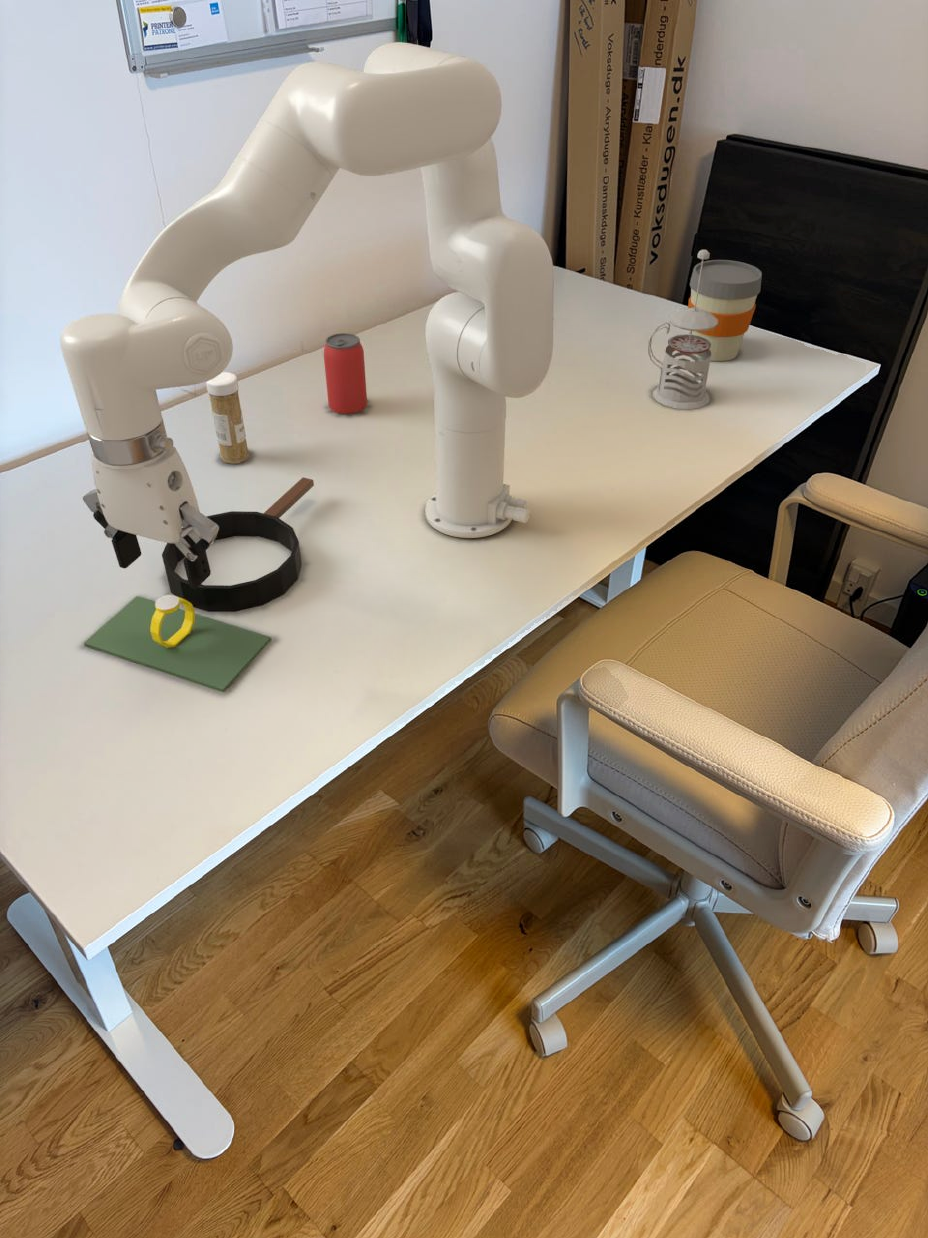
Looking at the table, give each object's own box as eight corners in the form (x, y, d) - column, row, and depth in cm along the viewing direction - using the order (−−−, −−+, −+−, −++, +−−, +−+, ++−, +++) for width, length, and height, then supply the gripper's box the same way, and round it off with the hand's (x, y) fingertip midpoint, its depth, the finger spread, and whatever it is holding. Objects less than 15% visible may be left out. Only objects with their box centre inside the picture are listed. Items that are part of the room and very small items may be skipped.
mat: (271, 640, 116) (270, 637, 115) (223, 692, 109) (223, 689, 108) (137, 598, 122) (137, 595, 122) (84, 645, 115) (83, 642, 115)
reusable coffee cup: (666, 344, 183) (678, 265, 173) (720, 333, 187) (734, 255, 177) (705, 370, 174) (720, 288, 164) (761, 357, 178) (778, 277, 169)
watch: (186, 622, 118) (177, 583, 114) (203, 629, 117) (194, 591, 113) (151, 650, 114) (140, 611, 110) (168, 657, 113) (158, 618, 109)
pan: (254, 626, 118) (249, 601, 115) (141, 591, 123) (134, 567, 121) (362, 511, 138) (360, 489, 135) (260, 486, 143) (257, 464, 140)
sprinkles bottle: (254, 459, 149) (241, 379, 140) (226, 467, 147) (212, 387, 138) (242, 447, 152) (229, 368, 143) (215, 455, 150) (200, 375, 141)
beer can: (321, 412, 161) (314, 344, 153) (340, 395, 166) (334, 328, 158) (356, 419, 159) (351, 350, 152) (374, 402, 164) (369, 335, 156)
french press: (705, 412, 161) (732, 263, 145) (637, 402, 164) (656, 255, 148) (713, 388, 168) (739, 243, 152) (647, 378, 171) (666, 235, 155)
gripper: (220, 437, 98) (247, 570, 109) (86, 407, 103) (125, 536, 114) (175, 473, 93) (209, 609, 104) (37, 440, 98) (83, 572, 109)
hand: (165, 571), depth 109 cm, fingers open, 9 cm apart
